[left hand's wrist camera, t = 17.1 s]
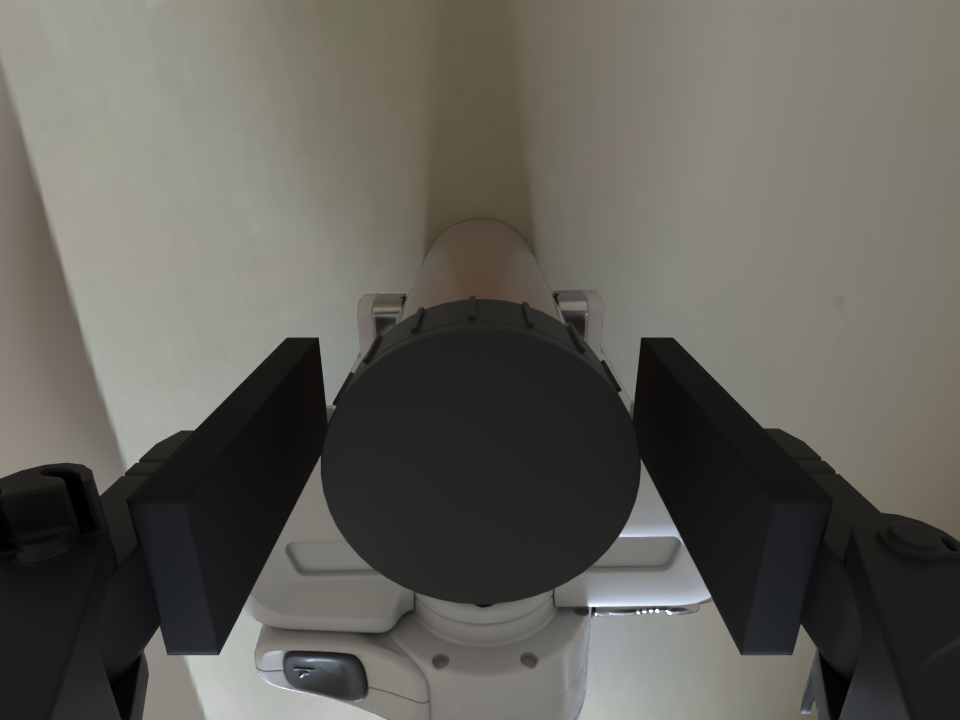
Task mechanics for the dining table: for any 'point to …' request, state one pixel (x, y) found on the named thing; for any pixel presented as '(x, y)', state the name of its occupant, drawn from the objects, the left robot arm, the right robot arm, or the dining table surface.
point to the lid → (480, 454)
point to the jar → (480, 270)
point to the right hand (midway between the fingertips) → (478, 295)
